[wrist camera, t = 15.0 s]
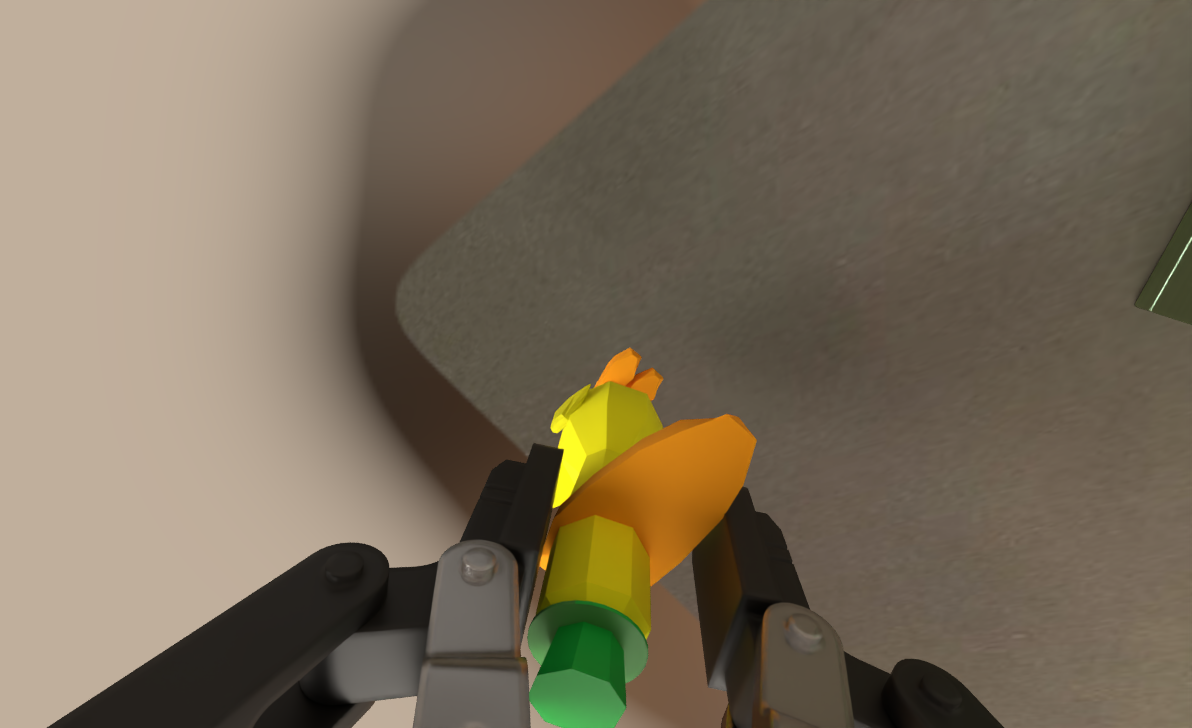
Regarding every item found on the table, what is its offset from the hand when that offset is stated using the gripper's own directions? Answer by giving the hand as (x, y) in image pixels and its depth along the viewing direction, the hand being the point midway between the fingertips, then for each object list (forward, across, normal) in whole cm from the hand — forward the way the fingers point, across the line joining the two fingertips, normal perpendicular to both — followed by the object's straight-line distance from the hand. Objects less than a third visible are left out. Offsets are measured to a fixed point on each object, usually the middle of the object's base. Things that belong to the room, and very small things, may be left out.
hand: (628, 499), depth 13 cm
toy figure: (+7, 0, 0) cm, 7 cm away
